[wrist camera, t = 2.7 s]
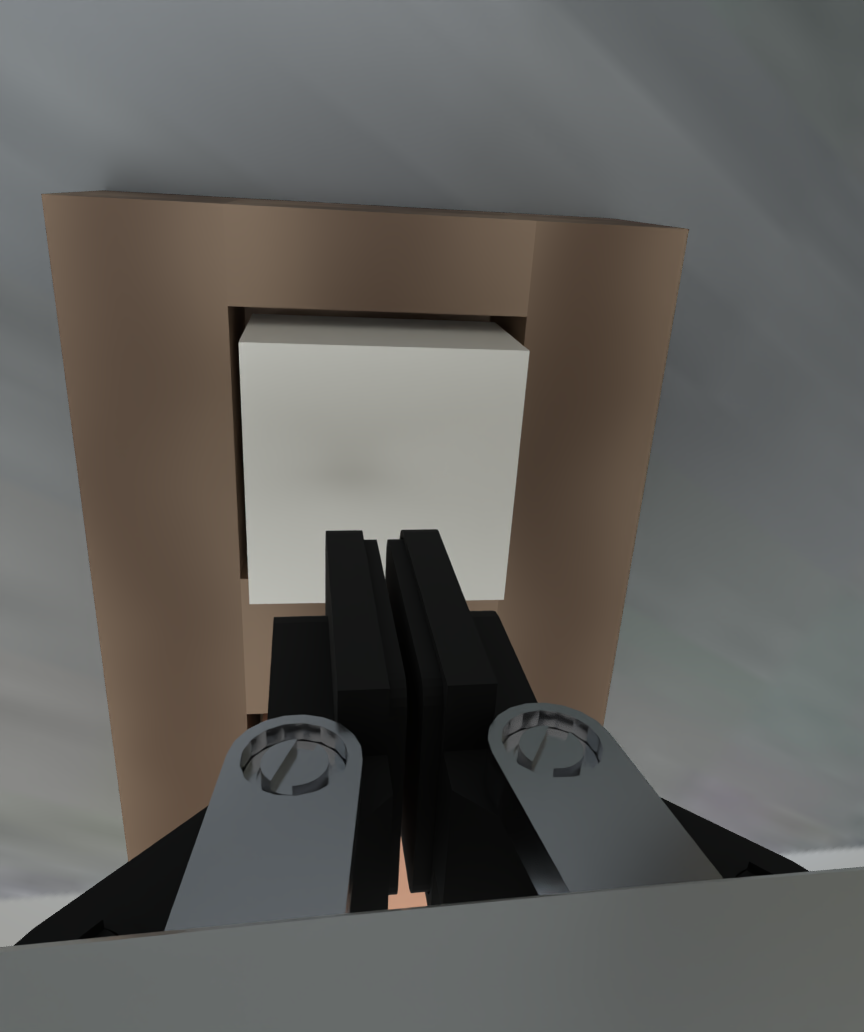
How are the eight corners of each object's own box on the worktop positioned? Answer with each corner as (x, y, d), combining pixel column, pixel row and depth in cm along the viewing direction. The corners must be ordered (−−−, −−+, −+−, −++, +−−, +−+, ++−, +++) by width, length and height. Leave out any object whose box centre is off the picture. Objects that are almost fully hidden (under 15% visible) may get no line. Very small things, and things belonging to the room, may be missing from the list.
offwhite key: (494, 322, 20) (529, 350, 16) (476, 537, 22) (503, 600, 19) (252, 313, 19) (238, 342, 16) (259, 538, 21) (249, 604, 18)
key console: (614, 218, 22) (689, 228, 18) (533, 808, 31) (570, 917, 26) (103, 190, 20) (41, 194, 16) (168, 829, 29) (140, 950, 24)
